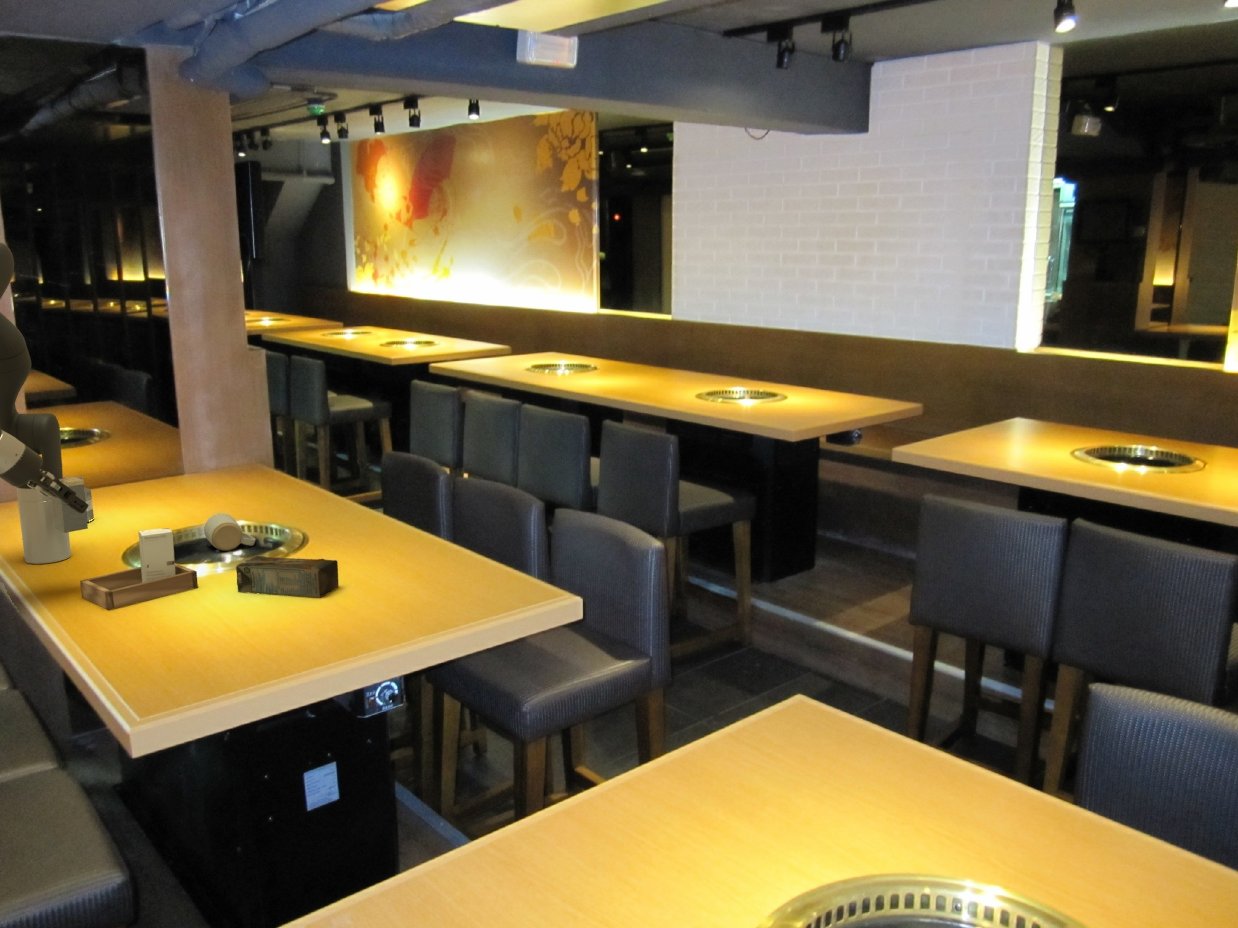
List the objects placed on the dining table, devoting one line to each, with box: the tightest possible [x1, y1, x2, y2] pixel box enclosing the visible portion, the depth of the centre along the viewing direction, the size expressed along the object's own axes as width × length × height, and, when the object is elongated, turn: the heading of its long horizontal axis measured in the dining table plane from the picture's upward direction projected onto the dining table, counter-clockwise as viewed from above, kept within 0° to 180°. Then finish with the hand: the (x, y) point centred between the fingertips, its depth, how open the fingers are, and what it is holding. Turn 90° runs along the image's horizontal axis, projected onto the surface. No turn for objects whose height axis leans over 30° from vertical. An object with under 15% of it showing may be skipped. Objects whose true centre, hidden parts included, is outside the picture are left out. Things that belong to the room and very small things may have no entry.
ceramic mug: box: [203, 512, 256, 552], centre depth 236 cm, size 11×8×8 cm
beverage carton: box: [235, 555, 339, 599], centre depth 205 cm, size 8×19×7 cm, turn 78°
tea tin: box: [51, 476, 89, 533], centre depth 202 cm, size 5×5×10 cm
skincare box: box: [138, 527, 175, 583], centre depth 205 cm, size 6×4×12 cm
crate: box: [79, 563, 199, 611], centre depth 203 cm, size 12×18×4 cm, turn 141°
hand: (79, 507), depth 204 cm, fingers closed on tea tin, 4 cm apart
